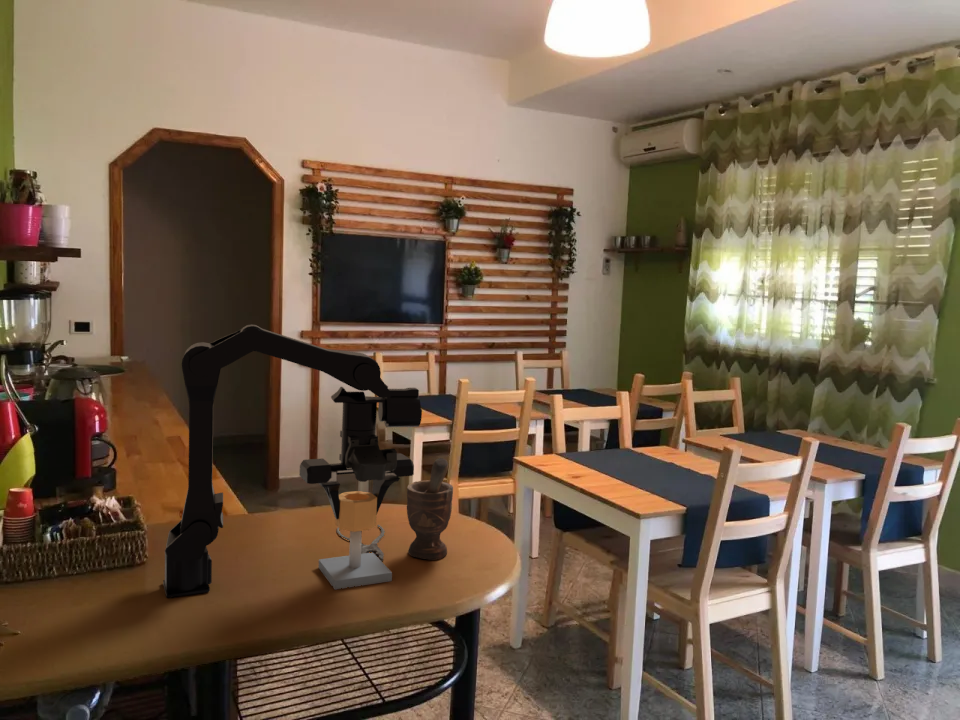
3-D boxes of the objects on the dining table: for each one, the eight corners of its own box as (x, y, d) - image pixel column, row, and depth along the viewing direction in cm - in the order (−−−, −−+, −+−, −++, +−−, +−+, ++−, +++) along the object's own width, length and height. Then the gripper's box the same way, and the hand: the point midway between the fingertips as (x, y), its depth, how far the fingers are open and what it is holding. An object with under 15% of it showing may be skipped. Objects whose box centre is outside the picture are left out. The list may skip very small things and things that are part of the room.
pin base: (334, 589, 124) (336, 536, 123) (318, 567, 133) (319, 518, 132) (391, 580, 129) (393, 530, 128) (372, 560, 137) (374, 512, 136)
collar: (343, 533, 125) (344, 503, 125) (332, 521, 131) (333, 493, 130) (379, 528, 128) (380, 500, 128) (367, 517, 134) (368, 490, 133)
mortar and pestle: (469, 562, 139) (474, 456, 137) (430, 571, 133) (435, 461, 131) (433, 543, 148) (437, 443, 146) (395, 551, 142) (399, 448, 140)
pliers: (376, 521, 158) (416, 553, 140) (376, 525, 158) (416, 557, 140) (331, 527, 153) (367, 561, 136) (331, 531, 153) (367, 565, 136)
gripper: (317, 440, 116) (314, 538, 118) (428, 434, 125) (424, 525, 127) (299, 426, 126) (297, 516, 128) (403, 421, 135) (400, 506, 137)
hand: (355, 516), depth 130 cm, fingers closed on collar, 6 cm apart
